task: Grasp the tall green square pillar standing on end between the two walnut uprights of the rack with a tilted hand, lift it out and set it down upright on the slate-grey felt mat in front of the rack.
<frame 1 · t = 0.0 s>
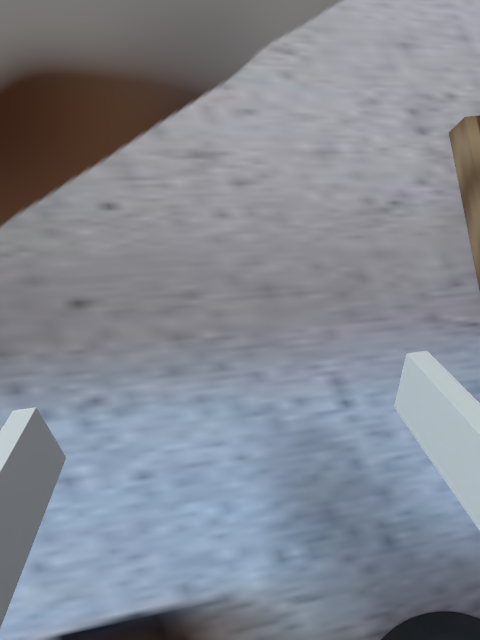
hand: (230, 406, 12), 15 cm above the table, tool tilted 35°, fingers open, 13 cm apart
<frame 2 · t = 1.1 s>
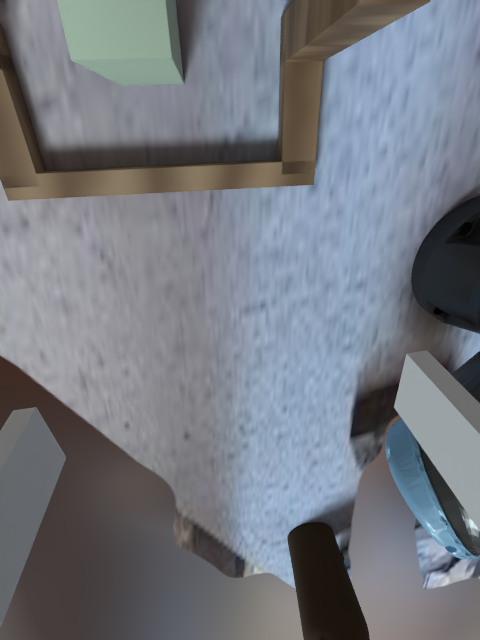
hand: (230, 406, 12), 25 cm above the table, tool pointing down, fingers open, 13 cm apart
olive oil: (309, 533, 67), on the table
rack: (147, 45, 25), on the table
tall green square pillar: (147, 45, 25), on the table
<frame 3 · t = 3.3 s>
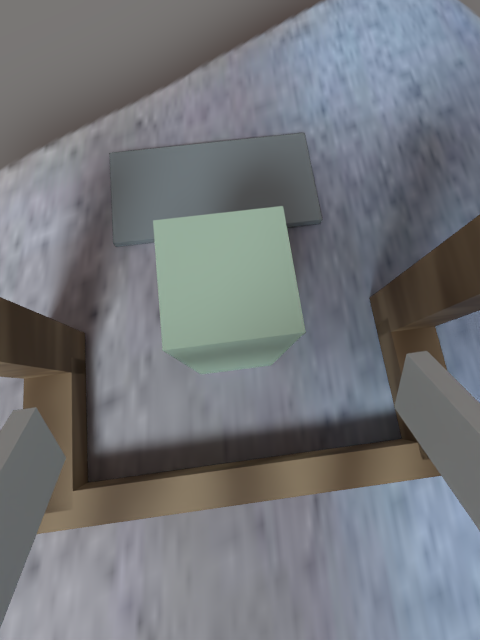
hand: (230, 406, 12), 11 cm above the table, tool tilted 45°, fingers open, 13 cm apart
rack: (231, 335, 24), on the table
tall green square pillar: (231, 335, 24), on the table
mat: (213, 190, 26), on the table
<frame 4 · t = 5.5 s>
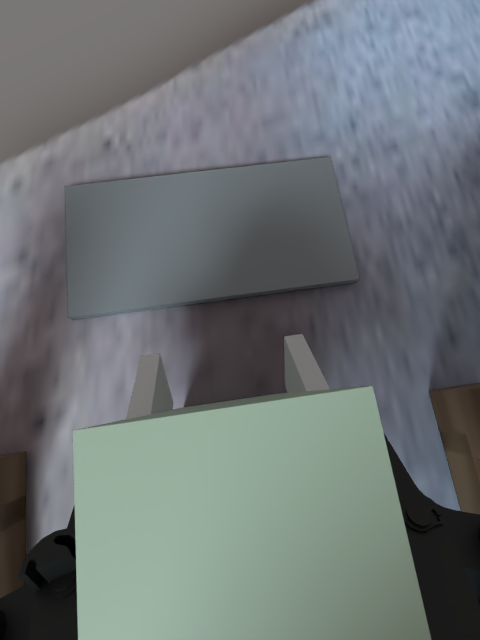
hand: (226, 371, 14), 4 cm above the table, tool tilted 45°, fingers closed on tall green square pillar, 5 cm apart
rack: (237, 450, 16), on the table
tall green square pillar: (237, 450, 16), on the table, touching gripper
mat: (209, 236, 19), on the table
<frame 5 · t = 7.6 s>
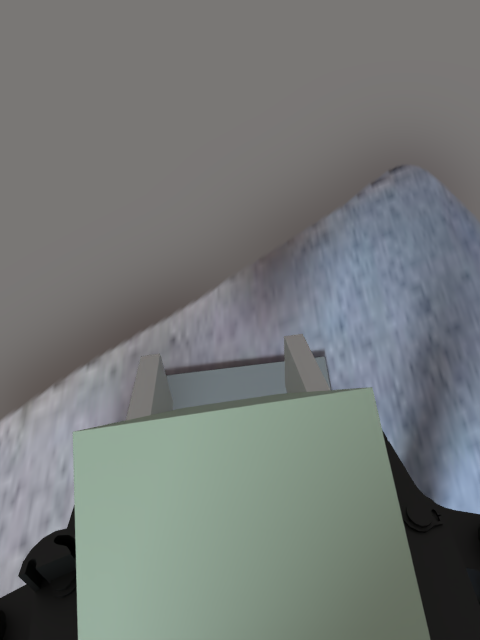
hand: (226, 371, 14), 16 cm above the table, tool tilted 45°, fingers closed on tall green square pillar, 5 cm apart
tall green square pillar: (237, 451, 17), point 12 cm above the table, touching gripper
mat: (242, 412, 29), on the table
when the fingers open (6 cm above the table, at t = 9.9 s): tall green square pillar drops 1 cm, resting on mat.
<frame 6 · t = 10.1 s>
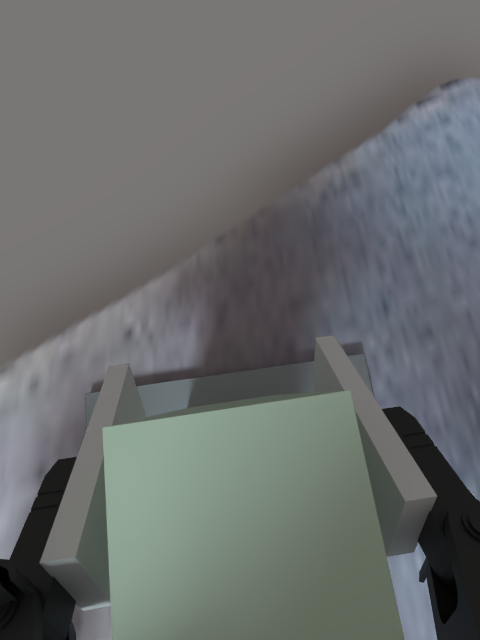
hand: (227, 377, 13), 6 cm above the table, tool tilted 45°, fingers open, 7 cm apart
tall green square pillar: (238, 448, 18), point 1 cm above the table, touching mat
mat: (237, 445, 18), on the table
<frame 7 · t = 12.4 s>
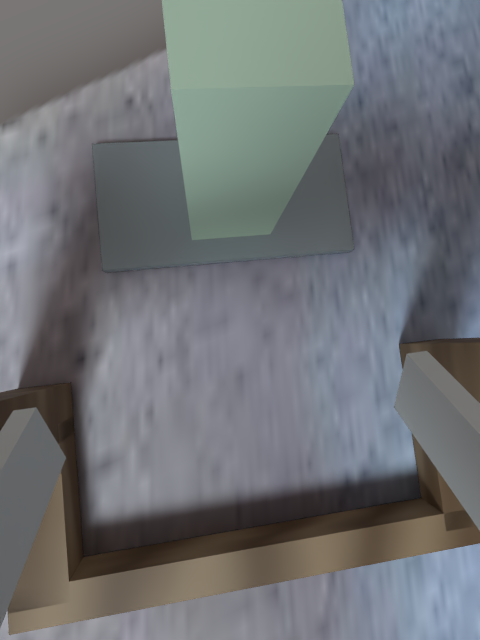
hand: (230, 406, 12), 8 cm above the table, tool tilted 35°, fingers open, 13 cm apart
rack: (246, 386, 21), on the table
tall green square pillar: (227, 199, 21), point 1 cm above the table, touching mat
mat: (226, 202, 21), on the table
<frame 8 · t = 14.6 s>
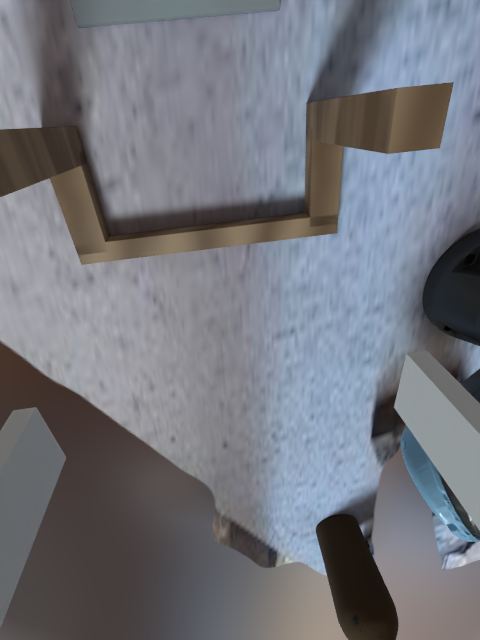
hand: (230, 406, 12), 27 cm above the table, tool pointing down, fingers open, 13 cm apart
olive oil: (335, 524, 73), on the table
rack: (196, 133, 30), on the table
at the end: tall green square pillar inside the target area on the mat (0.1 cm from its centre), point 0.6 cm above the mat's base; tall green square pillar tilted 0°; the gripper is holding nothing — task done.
